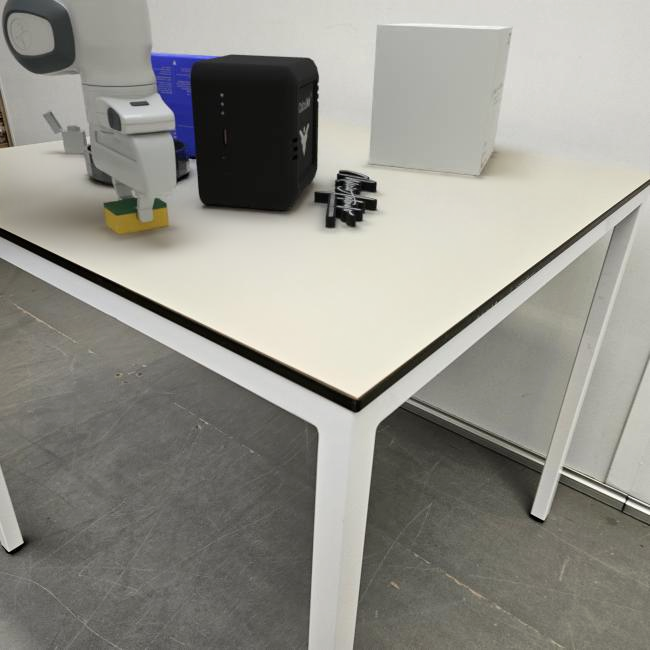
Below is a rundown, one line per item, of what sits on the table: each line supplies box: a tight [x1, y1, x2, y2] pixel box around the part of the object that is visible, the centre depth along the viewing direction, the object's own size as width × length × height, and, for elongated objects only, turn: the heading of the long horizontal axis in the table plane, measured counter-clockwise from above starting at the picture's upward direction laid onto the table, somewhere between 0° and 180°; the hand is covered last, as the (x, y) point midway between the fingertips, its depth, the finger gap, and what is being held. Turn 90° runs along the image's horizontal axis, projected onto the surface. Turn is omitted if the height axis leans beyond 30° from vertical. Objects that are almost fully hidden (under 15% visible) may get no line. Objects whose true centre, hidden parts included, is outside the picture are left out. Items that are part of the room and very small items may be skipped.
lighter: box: [42, 110, 88, 155], centre depth 119 cm, size 7×2×8 cm, turn 96°
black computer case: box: [190, 53, 320, 211], centre depth 93 cm, size 20×15×20 cm
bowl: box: [83, 139, 191, 186], centre depth 105 cm, size 17×17×5 cm
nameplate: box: [313, 169, 378, 229], centre depth 95 cm, size 27×2×10 cm
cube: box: [368, 22, 513, 176], centre depth 120 cm, size 25×21×24 cm
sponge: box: [103, 197, 170, 236], centre depth 82 cm, size 7×5×3 cm, turn 128°
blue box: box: [151, 51, 222, 159], centre depth 119 cm, size 39×8×18 cm, turn 63°
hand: (136, 214), depth 82 cm, fingers closed on sponge, 4 cm apart
